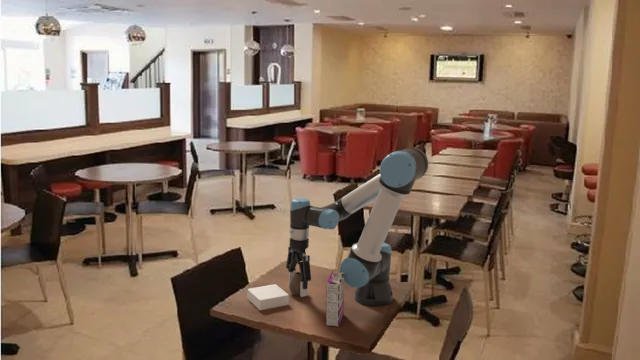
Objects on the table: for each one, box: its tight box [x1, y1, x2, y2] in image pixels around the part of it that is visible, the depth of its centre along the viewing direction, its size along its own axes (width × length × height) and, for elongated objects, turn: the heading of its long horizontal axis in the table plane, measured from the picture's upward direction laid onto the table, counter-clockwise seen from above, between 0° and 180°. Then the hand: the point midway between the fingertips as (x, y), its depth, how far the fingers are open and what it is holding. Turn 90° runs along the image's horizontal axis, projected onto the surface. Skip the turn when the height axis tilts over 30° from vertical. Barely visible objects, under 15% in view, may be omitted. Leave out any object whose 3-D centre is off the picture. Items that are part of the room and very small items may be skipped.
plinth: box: [246, 283, 290, 311], centre depth 222 cm, size 12×12×4 cm
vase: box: [288, 271, 302, 297], centre depth 231 cm, size 7×7×9 cm
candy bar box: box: [325, 271, 345, 327], centre depth 207 cm, size 11×5×16 cm, turn 169°
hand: (297, 291), depth 231 cm, fingers open, 9 cm apart
